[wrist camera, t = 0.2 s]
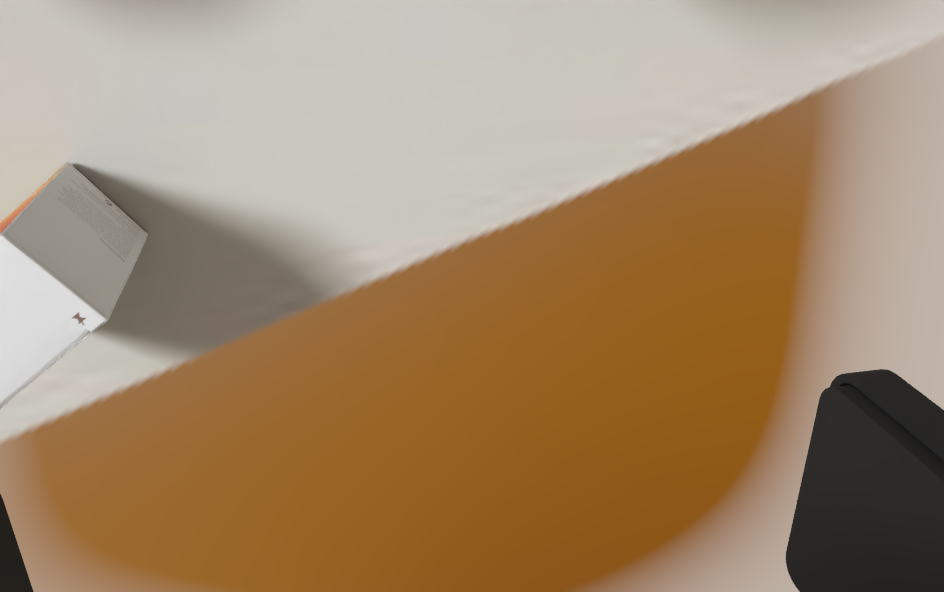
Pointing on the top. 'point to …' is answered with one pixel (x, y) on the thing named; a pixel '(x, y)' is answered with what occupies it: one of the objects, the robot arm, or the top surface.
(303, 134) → the top surface
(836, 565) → the robot arm
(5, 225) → the small box
